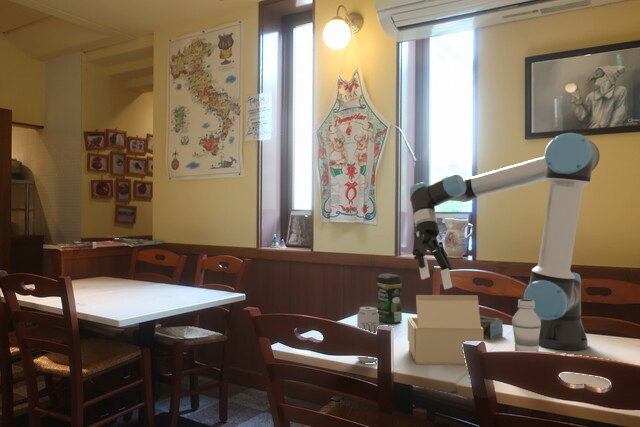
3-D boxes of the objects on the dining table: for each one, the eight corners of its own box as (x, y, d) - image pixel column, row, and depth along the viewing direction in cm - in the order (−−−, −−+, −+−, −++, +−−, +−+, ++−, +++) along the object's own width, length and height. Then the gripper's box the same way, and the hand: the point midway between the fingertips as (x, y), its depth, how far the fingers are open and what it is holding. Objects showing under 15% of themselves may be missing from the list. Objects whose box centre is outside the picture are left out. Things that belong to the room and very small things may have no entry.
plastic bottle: (547, 386, 114) (546, 302, 115) (520, 387, 114) (519, 302, 114) (533, 377, 121) (532, 297, 121) (507, 377, 120) (507, 298, 121)
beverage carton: (490, 340, 158) (490, 320, 158) (442, 330, 172) (442, 312, 173) (503, 337, 163) (503, 317, 163) (455, 327, 177) (455, 309, 178)
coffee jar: (373, 320, 189) (373, 273, 189) (390, 318, 193) (390, 271, 193) (388, 324, 180) (388, 275, 181) (405, 322, 184) (405, 274, 184)
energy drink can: (359, 365, 131) (359, 310, 131) (355, 359, 137) (355, 306, 137) (381, 364, 132) (381, 310, 132) (376, 358, 138) (376, 306, 138)
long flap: (477, 295, 134) (477, 295, 134) (480, 328, 131) (481, 328, 130) (416, 295, 135) (416, 295, 134) (417, 328, 132) (418, 327, 131)
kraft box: (470, 350, 145) (470, 317, 145) (484, 365, 131) (484, 328, 131) (407, 349, 146) (407, 317, 146) (414, 364, 132) (414, 328, 132)
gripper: (436, 239, 174) (447, 295, 163) (395, 217, 158) (404, 277, 147) (454, 232, 169) (467, 288, 159) (414, 208, 153) (425, 269, 143)
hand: (437, 283), depth 153 cm, fingers open, 13 cm apart
